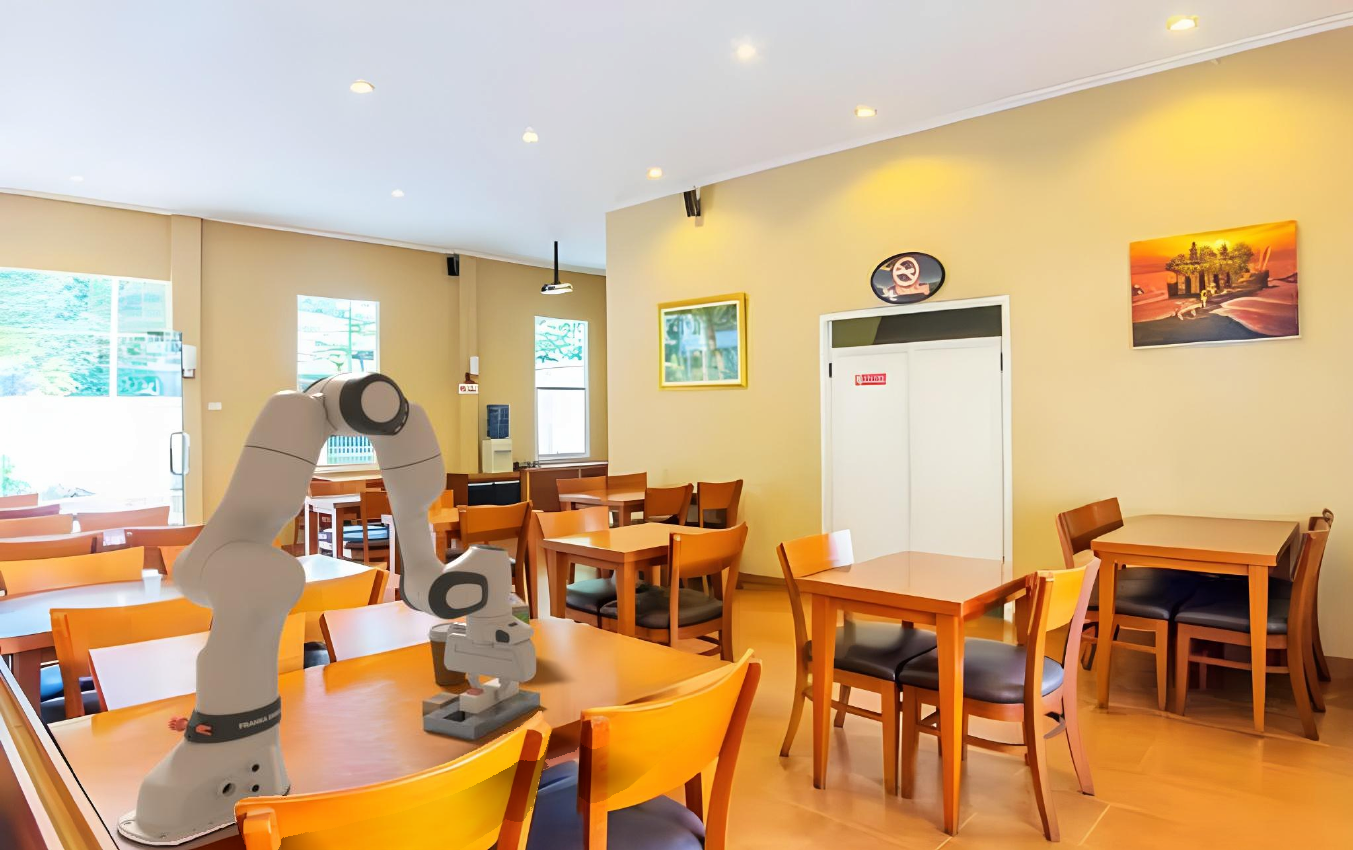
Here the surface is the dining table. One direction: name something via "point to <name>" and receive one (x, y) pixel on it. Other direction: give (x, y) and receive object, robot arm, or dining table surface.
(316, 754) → the dining table surface
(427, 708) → the tan rectangular block
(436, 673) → the disposable coffee cup
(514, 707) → the keyhole plate
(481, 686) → the white key block
